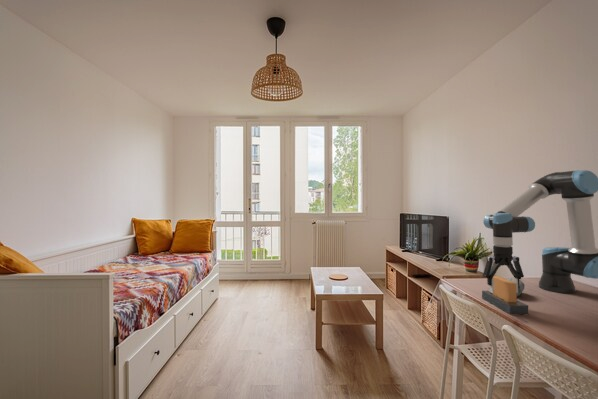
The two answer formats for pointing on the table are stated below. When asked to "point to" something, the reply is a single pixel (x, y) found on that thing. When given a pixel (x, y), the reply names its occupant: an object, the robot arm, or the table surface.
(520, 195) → the robot arm
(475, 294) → the table surface
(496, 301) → the cinder block
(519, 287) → the spool
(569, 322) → the table surface
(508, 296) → the wooden arch block
